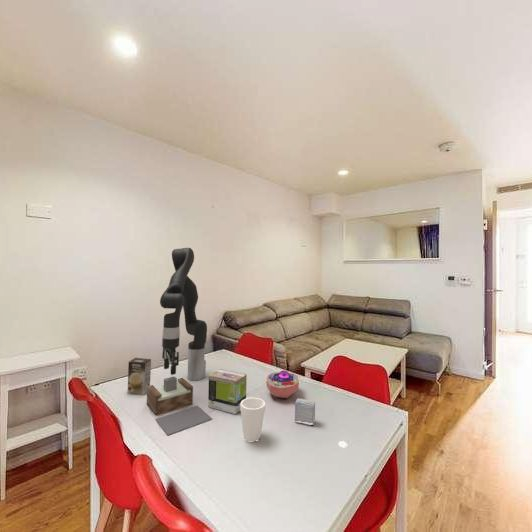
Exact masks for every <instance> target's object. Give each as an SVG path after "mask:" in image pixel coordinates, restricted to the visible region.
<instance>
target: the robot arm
mask: <svg viewBox="0 0 532 532" xmlns="http://www.w3.org/2000/svg"><path fill="white" fill-rule="evenodd" d="M171 259H172V263H173V267H174V270H175V272H174V273H173V274H172V275H171V277H170V280H169V282H168V283H169V284H168V286H167V288H166V289H165V291H163V293H162V294H161V297H160V300H159V304H160V307H161V308H163V309H169V310H170V309H175V311H173V312H170V313H165V314H164V316H163V328H162V340H161V341H162V343H161V347H162V353H161V354H162V355H161V357H162V359H163V369H164V370H168V369H170V375H171V376H173V375H176V373H177V366H179V364H180V363H179V359H180V354H179V351H176V349H177V348H179V347H180V337H181V336H180V331H181V330H180V318H181V313H182V309H183V314H184V324H185V329H186V332H187V333H188V334H189V335H190V336H193V341H189V342H188V345H187V346H188V347H187V349H188V351H187V379H188V380H189V381H200V380H203V379H204V378H206V371H207V370H206V367H207V361H206V359H205V358H206V357H205V354H206V351H205V349H206V348H205V346H206V343H207V339H208V338H207V333H208V326H207V325H208V324H207V323H206V321H204V320H201V319H198V318H197V315H196V307H197V304H198V301H199V293H198V289H197V286H196V283H195V282H194V281H193V280H192V279H191V278H190V277H189V276H188V275H189V272H190V270H191V268H192V266H193V264H194V261H195V253H194V251H193V249H192V248H191V247H183V248H181V247H180V248H174V249H173V250H172V251H171Z"/></svg>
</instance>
